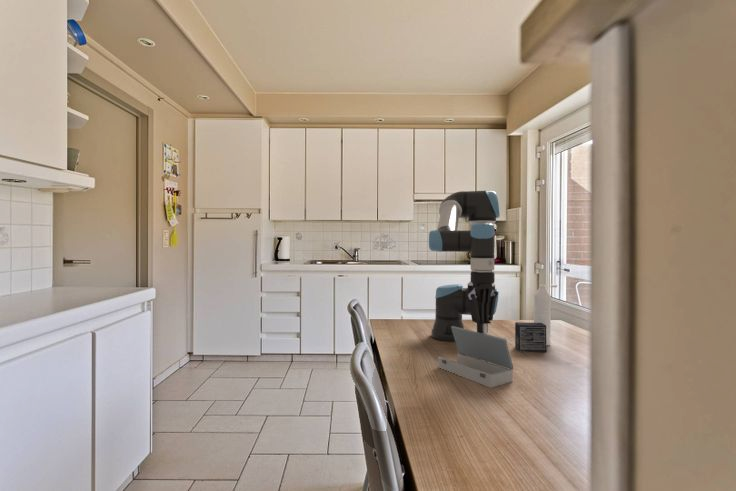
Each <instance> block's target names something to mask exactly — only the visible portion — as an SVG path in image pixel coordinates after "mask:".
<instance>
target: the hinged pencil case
mask: <svg viewBox="0 0 736 491" xmlns="http://www.w3.org/2000/svg"><path fill="white" fill-rule="evenodd" d="M437 360H438V361H437V362H438V363H437V368H438V369H440V368H441V369H440V370H443V369H444V371H446V370H447V371H446V372H448V371H449V373H451V372H452V374H453V373H455V374H454V375H456V374H457V376H460V377H461V376H462V377H461V378H464V377H465V378H464V379H467V380H469V379H470V380H469V381H472V382H474V381H475V383H477V384H480V385H482V384H483V386H485V387H488V388H490V389H491V388H494V387H499V386H502V385H505V384H508V383H512V382H513V373H514V369H513V370H512V369H509V368H506V367H503V366H499V365H496V364H493V363H490V362H487V361H484V360H480V359H477V358H474V357H471V356H468V355H465V354H462V353H459V352H458V353H456V361H453V360H451V359H449V360H448V358H445V357H442V356H438V358H437ZM462 364H463V365H462ZM465 365H466V366H465ZM468 366H469V367H468Z"/></svg>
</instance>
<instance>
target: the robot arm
mask: <svg viewBox="0 0 736 491" xmlns="http://www.w3.org/2000/svg"><path fill="white" fill-rule="evenodd" d="M438 213H439V220H438V222H437V227H436V229H435V230H431V231H429V233H428V248H429V250H430V251H432V252H438V253H439V252H440V253H441V252H463V253H466V252H470V271H471V272H470V281H469V282H468V283H467V287H464V286H463V285H462V284H461V283H460V284H459V283H458V284H446V285H440V286H438V287H437V288H436V289H435V297H434V298H435V318H434V319H435V320H434V323H433V327H432V329H431V332H430V333H431V338H432V339H435V340H439V341H442V342H443V341H444V342H455V339H454V336H453V332H452V329H451V327H452V326H455V327H459V328H463V329H465V327H464V323H463V315H465V316H466V315H467V316H470V317H471V321H472V322H473V323H476V332H479V333H483V334H487V335H488V331H489V328H488V327H489V324H491V323H492V322H491V321H493V319H494V315H495V314H496V313H497V310H498V309H497V307H498V301H499V293H500V292H499V289H498V288H496V284H495V279H496V278H495V274H496V273H495V272H494V271H495V247H496V246H495V245H496V244H495V242H496V241H495V240H496V239H495V237H496V232H495V224H496V222H497V219H498V218H500V204H499V199H498V194H497V192H495V191H494V190H469V191H468V190H467V191H466V190H463V191H456V192H454V193H451V194H450V195H448V196H446V197H445V198H444V199H443V200H442V201H441V203H440V205H439V208H438ZM461 218H464V219H468V220H467V222H468V223H469V225H471V226H470V230H469V229H468V230H458V227H459V219H461Z"/></svg>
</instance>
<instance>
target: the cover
mask: <svg viewBox="0 0 736 491" xmlns="http://www.w3.org/2000/svg"><path fill="white" fill-rule="evenodd" d="M451 329H452V332H453V336H454V339H455V341H454V343H455V345H456V350H457V351H458V353H461V354H464V355H467V356H470V357H474V358H477V359H480V360H483V361H486V362H489V363H492V364H496V365H499V366H502V367H505V368H508V369H511V370H513V371H514V364H513V361H512V357H511V353H510V348H509V346H508V342H507V339H506V338H504V337H500V336H496V335H495V336H494V335H490V334H488V333H487V334H483V333H479V332H477V331H475V330H471V329H466V328H464V329H463V328H459V327H455V326H452V327H451Z"/></svg>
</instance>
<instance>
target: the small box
mask: <svg viewBox="0 0 736 491" xmlns="http://www.w3.org/2000/svg"><path fill="white" fill-rule="evenodd" d="M514 324H515V325H514V330H515V331H514V332H515V334H514V338H515V339H514V342H515V343H514V344H515V345H514V348H515V349H516V350H517V351H518V352H525V353H526V352H534V353H536V352H537V353H547V346H546V325H544V324H543V323H534V322H524V321H523V322H521V321H517V322H514Z"/></svg>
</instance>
